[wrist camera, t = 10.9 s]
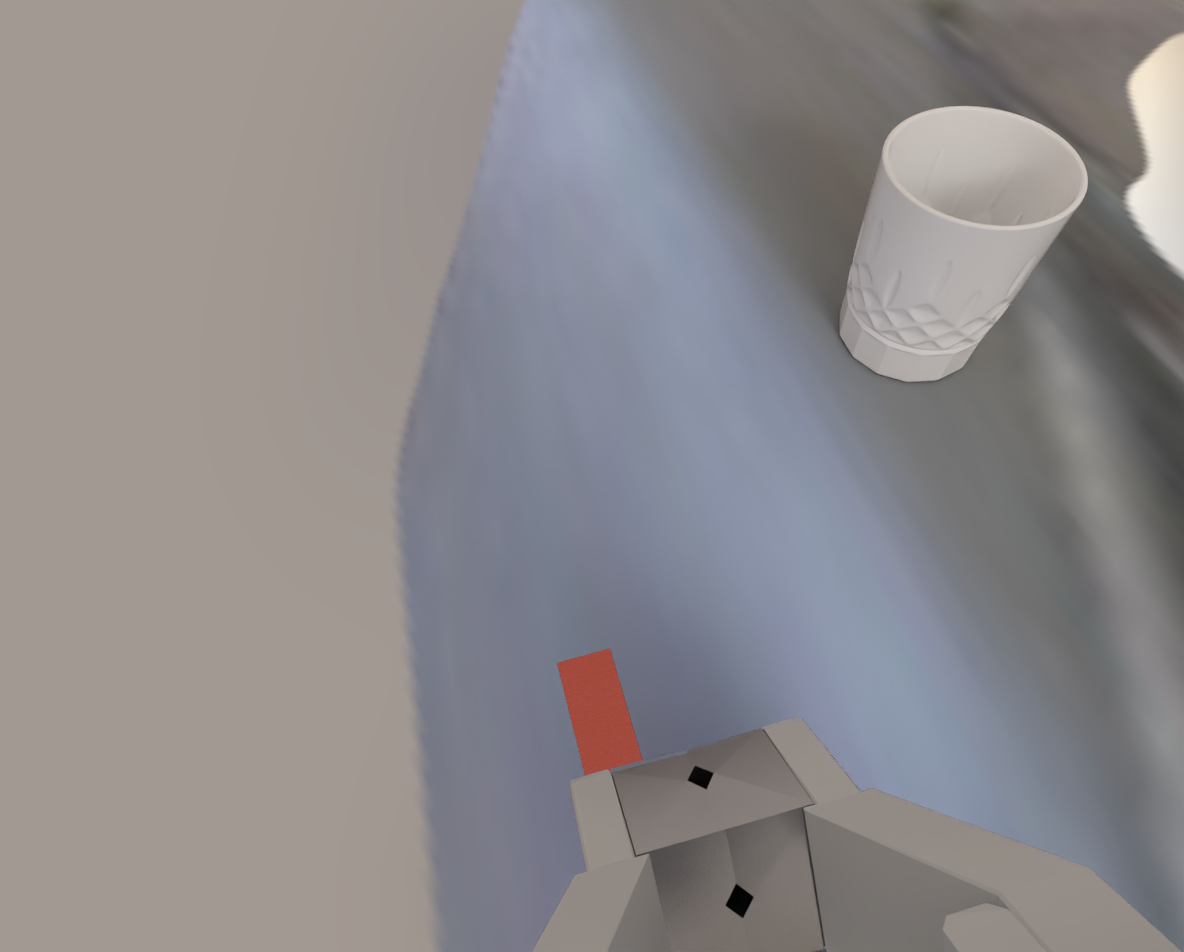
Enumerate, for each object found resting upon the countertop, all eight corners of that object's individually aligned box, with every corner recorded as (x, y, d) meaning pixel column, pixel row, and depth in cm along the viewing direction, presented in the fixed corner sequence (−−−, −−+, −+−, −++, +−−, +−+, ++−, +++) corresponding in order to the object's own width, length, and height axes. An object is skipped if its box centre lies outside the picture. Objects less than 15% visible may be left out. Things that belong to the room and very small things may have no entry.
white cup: (809, 366, 38) (863, 200, 29) (845, 264, 41) (903, 90, 33) (971, 412, 36) (1079, 249, 27) (994, 301, 40) (1096, 127, 31)
